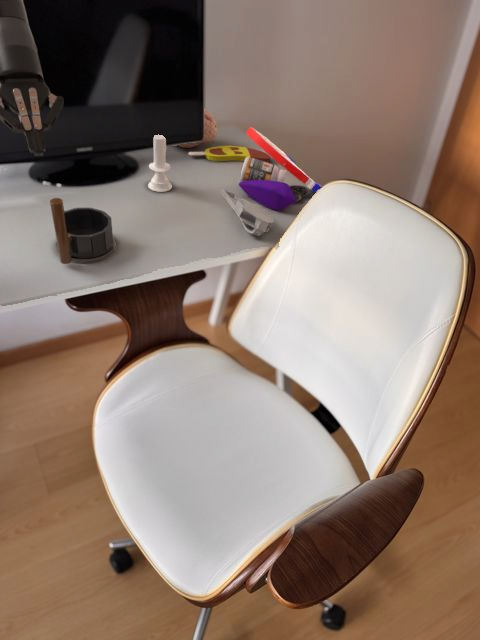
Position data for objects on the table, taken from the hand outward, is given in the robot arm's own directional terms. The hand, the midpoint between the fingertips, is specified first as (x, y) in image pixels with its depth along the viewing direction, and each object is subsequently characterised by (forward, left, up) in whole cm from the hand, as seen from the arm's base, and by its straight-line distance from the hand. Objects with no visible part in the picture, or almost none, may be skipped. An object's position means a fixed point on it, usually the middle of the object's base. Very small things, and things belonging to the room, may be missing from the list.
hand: (38, 154), depth 95 cm
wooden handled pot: (+4, -8, -15) cm, 17 cm away
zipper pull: (+40, -5, -11) cm, 41 cm away
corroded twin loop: (+54, +1, -16) cm, 57 cm away
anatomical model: (+36, +38, -17) cm, 55 cm away
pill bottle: (+44, +10, -12) cm, 47 cm away
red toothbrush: (+56, +10, -12) cm, 58 cm away
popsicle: (+36, +23, -15) cm, 46 cm away
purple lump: (+42, +7, -14) cm, 45 cm away
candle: (+26, +12, -16) cm, 32 cm away
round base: (+5, -7, -16) cm, 18 cm away
